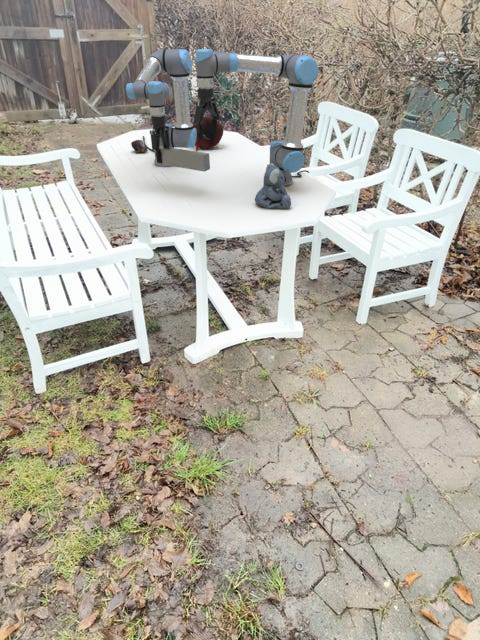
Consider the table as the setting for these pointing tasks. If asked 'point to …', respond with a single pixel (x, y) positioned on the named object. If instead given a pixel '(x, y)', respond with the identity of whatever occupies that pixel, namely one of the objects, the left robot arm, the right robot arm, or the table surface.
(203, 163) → the bar
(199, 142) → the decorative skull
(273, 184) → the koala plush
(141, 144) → the rock
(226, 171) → the table surface
